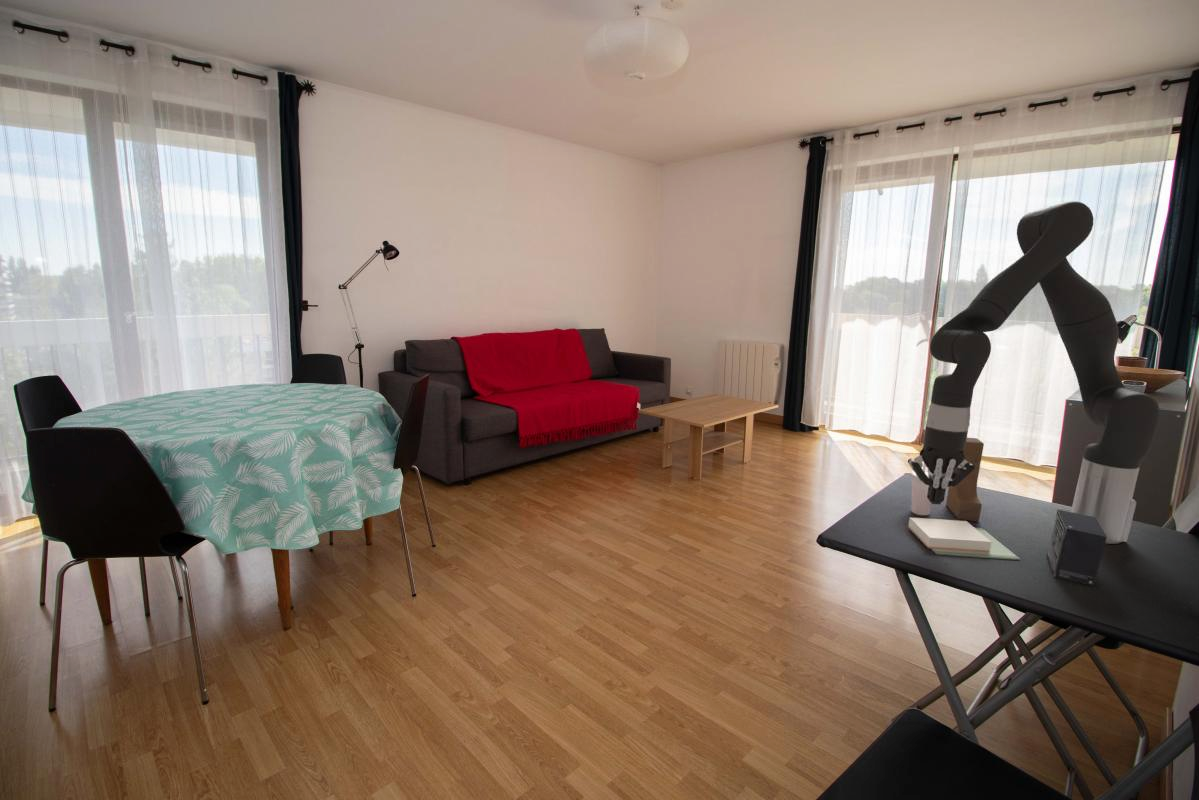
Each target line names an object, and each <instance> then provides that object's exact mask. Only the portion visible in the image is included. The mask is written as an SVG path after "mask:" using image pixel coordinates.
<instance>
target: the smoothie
mask: <svg viewBox="0 0 1199 800" xmlns="http://www.w3.org/2000/svg"><path fill="white" fill-rule="evenodd" d="M922 470H923V471H924V473H925V474H926V475H927V477H928V470H927V467H926V465H925V463H924V462H923V467H922ZM909 477H910V478H911V510H910V511H911V513H913V514H915V515H918V516H928V515H929V514H930V512H931V510H932V509H931V508H932V505H933V504H932V503H931V502H930V501H929V500H928V498H927V494H928V487H929V485H926V484H924V483H923V482H922V481H921V480H920V479H919V478H918V476H917V475H916V473H915V472H914V470H912V471H911V472H910V476H909Z"/></svg>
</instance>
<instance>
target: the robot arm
mask: <svg viewBox="0 0 1199 800" xmlns="http://www.w3.org/2000/svg"><path fill="white" fill-rule="evenodd" d="M1093 215H1094V214H1093V212H1092V209H1091V208H1090V207H1089V206H1087V205H1086V204H1085V203H1083V202H1082V201H1076V200H1075V201H1073V200H1072V201H1066V202H1060V203H1057V204H1053V205H1049V206H1047V207H1043V208H1039V209H1035V210H1033V211H1031V212H1028V213H1026V214H1025V215H1023V216H1022V217H1021V218H1020V219H1019V222H1018V223H1017V228H1016V238H1017V241H1018V245H1019V248H1020V250H1021V252H1022V254H1023V255H1022V256H1021V257H1020V258H1018V259H1017V260H1016V261H1014V262H1013V263H1012V264H1011V265H1009V266H1008V267H1006V268H1005V269H1003V270H1002V271H1001V272H999V273H998V274H997V275H995V276H994V277H993V278H992V279H991V280H990V281H989V282H987V283H986V284H985V286H984V287H983V288H982V289H981V290H980V291H979V292H978V294H977V295H976V296H975V297H974V298H973V300H972V301H971V302H970V304H969V305H968V306H967V307H966V308H965V309H963V310H962V311H960V312H958V313H957V314H956V315H955V316H953V317H952V318H951V319H950V320H948V321H947V322H945V324H943V325H942V326H941V327H940V328H938V330H937V331H936V332H935V333H934V335H933V336H932V338H931V341H930V346H929V350H930V354H931V356H932V357H933V358H934V359H935V360H937V361H940V362H942V363H943V362H944V363H950V364H954V365H956V367H955V368H954V370H953V372H952V373H948V374H947V373H945V374H940V375H938V376H936V378H935V379H934V380H933V386H932V392H931V393H932V394H931V399H930V404H929V407H928V411H927V416H926V423H925V430H924V436H923V440H922V441H923V442H922V444H923V446H922V449H921V450H920V452H919V455H917V457H916V456H915V458H908V460H907V463H908V465H909V466H910V468H911V469H912V471H914V472H915V473H916V475H917V476H918V478H919V479H920V480H921V481H922V482H923V483H924V484H926V485H929V487H928V494H927V498H928V500H929V501H930V502H931V503H932V505H938V506H939V505H942V503H943V502H944V501H945V496H946V491H947V489H948V488H949V486H956V485H957V484H958V483H960V482H961V481H962V480H963V479H964V478H965V477H966V476H967V475H968V474H970V473H971V472H972V471H973V470H974V469H975V466H974V465H972V464H971V463H969V462H968V461H966V460H965V454H964V449H965V446H966V440H967V438H968V433H969V432H968V431H969V427H970V422H971V407H972V401H973V397H974V396H973V395H974V390H975V389H974V388H975V386H976V383H977V382H978V380H979V378H980V375H981V374H982V372H983V370H984V368H985V366H986V364H987V361H988V360H989V359H990V355H991V351H992V343H991V341H990V338H989V336H988V335H987V334H986V333H987V332H993V331H996V330H998V329H999V328H1000V327H1001V326H1003V324H1004V323H1005V322H1006V321H1007V319H1008V318H1009V317H1010V316H1011V314H1013V312H1014V311H1015V309H1016V308H1017V307H1018V306H1019V305H1020V303H1022V301H1023V300H1024V298H1025V297H1026V296H1027V295H1028V294H1029V293H1030V292H1031V290H1033V289H1034V288H1035V287H1036V286H1037V285H1038V284H1039V286H1040V288H1041V290H1042V293H1043V295H1044V297H1045V299H1046V302H1047V304H1048V307H1049V309H1050V311H1051V314H1052V317H1053V320H1054V323H1055V325H1056V329H1057V331H1058V334H1059V336H1060V339H1061V340H1062V343H1063V345H1064V347H1065V350H1066V352H1067V356H1068V359H1069V361H1070V363H1071V366H1072V368H1073V371H1074V374H1075V376H1076V380H1077V383H1078V387H1079V392H1080V395H1081V401H1082V405H1083V408H1084V412H1085V414H1086V416H1087V417H1088V419H1089V420H1090V421H1091V422H1092V423H1093V424H1095V425H1096V426H1098V427H1101V428H1103V429H1104V430H1103V433H1102V436H1101V440H1100V441H1099V442H1098V443H1097V442H1096V443H1090V444H1089V443H1088V445H1086V446H1085V447H1084V448H1085V449H1084V452H1083V456H1082V461H1081V464H1080V465H1081V466H1080V472H1079V476H1078V479H1077V485H1076V487H1075V493H1074V496H1073V500H1072V501H1073V502H1072V505H1071V510H1070V512H1073V513H1077V514H1082V515H1087V516H1092V517H1096V519H1097V521H1098V522H1099V524H1100V526H1101V527H1102V529H1103V531H1104V532H1105V534H1106V536H1107V538H1106V542H1105V544H1109V545H1110V544H1112V545H1113V544H1114V545H1115V544H1120V543H1123V542H1124V543H1127V542H1128V539H1129V538H1128V537H1129V534H1130V530H1131V526H1132V523H1133V517H1134V514H1135V511H1136V506H1137V501H1136V500H1135V499H1133V497H1134V493H1135V488H1136V483H1137V481H1138V476H1139V472H1140V468H1141V464H1142V462H1143V460H1144V459H1145V458H1146V456H1147V455H1148V453H1150V449H1151V447H1152V444H1153V440H1154V438H1155V434H1156V432H1157V428H1158V424H1159V420H1160V417H1161V416H1160V414H1161V411H1160V406H1159V403H1158V401H1157V400H1156V399H1155V398H1154V397H1152V396H1151V395H1149V394H1146V393H1144V392H1139V391H1136V390H1132V389H1127V387H1126V386H1125V385H1124V383H1123V381H1122V379H1121V377H1120V375H1119V372H1118V369H1117V366H1116V363H1115V354H1116V353H1115V352H1116V350H1117V345H1118V342H1119V335H1120V331H1119V330H1120V329H1119V325H1118V322H1117V319H1116V316H1115V313H1114V310H1113V308H1112V305H1111V303H1110V301H1109V300H1108V298H1107V296H1106V295H1104V294H1103V292H1101V290H1099V289H1098V288H1097V287H1096V286H1094V285H1093V284H1092V283H1090V282H1089V281H1088V280H1087V279H1085V278H1084V277H1083V276H1081V275H1080V274H1079V273H1078V272H1077V271H1076V270H1075V269H1074V268H1073V267H1072V265H1071V264H1070V262H1069V261H1068V256H1069V255H1070V254H1072V253H1073V252H1074V251H1075V250H1076V249H1077V248H1078V247H1079V246H1081V245H1082V244H1083V243H1084V242H1085V241H1086V239H1087V238H1088V237H1089V236H1090V234H1091V232H1092V230H1093V227H1094V216H1093ZM924 463H925V465H926V469H927V471H928V477H927V475H926V474H925V473H924V471H923V465H924ZM957 467H958V468H957ZM956 468H957V469H956ZM955 469H956V470H955ZM954 470H955V471H954Z"/></svg>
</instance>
